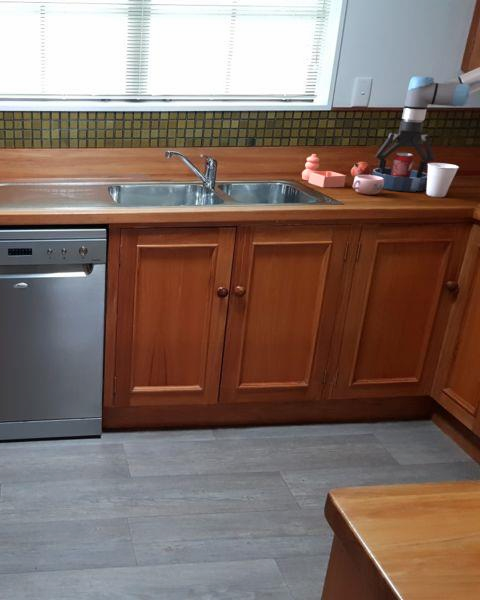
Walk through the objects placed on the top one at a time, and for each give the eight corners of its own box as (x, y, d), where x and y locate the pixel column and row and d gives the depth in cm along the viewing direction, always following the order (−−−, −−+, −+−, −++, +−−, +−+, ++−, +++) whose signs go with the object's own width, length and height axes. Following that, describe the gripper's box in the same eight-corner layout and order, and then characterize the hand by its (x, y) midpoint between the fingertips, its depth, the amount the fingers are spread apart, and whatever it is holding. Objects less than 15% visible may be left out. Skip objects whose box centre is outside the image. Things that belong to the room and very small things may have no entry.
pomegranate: (358, 182, 250) (342, 167, 247) (372, 169, 247) (357, 153, 244) (365, 188, 244) (349, 173, 241) (380, 174, 241) (364, 159, 238)
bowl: (415, 183, 242) (418, 169, 240) (432, 193, 224) (436, 179, 222) (364, 180, 245) (367, 166, 242) (377, 190, 227) (381, 176, 225)
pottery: (343, 186, 232) (349, 160, 229) (322, 187, 230) (327, 161, 226) (315, 177, 248) (319, 152, 244) (295, 177, 246) (299, 153, 242)
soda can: (402, 188, 230) (410, 156, 225) (384, 185, 235) (391, 153, 230) (410, 186, 234) (417, 154, 229) (392, 182, 239) (399, 152, 234)
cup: (450, 200, 216) (458, 169, 211) (419, 196, 220) (426, 165, 216) (451, 195, 223) (459, 164, 219) (421, 191, 228) (428, 161, 224)
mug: (366, 189, 229) (370, 173, 226) (387, 195, 220) (391, 179, 218) (341, 191, 225) (344, 175, 222) (361, 197, 216) (365, 181, 214)
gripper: (444, 120, 226) (430, 177, 235) (374, 118, 230) (362, 174, 238) (452, 123, 220) (437, 181, 228) (379, 120, 223) (367, 178, 232)
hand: (399, 178), depth 233 cm, fingers open, 13 cm apart
